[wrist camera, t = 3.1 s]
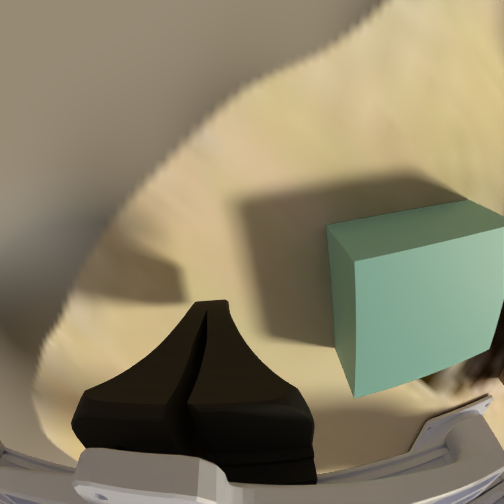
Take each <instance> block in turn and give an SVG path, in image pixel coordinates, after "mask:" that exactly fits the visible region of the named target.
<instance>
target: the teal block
mask: <svg viewBox="0 0 504 504" xmlns="http://www.w3.org/2000/svg"><path fill="white" fill-rule="evenodd" d="M326 234H327V244H328V254H329V265H330V277H331V289H332V304H333V320H334V339H335V350H336V352H337V355H338V357H339V360H340V362H341V365H342V368H343V370H344V373H345V376H346V378H347V381H348V383H349V386H350V389H351V391H352V394H353V397H354V399H355V398H358V397H362V396H366V395H369V394H373V393H376V392H379V391H383V390H386V389H389V388H392V387H395V386H398V385H402V384H404V383H407V382H410V381H413V380H416V379H419V378H422V377H424V376H427V375H430V374H432V373H435V372H438V371H440V370H443V369H445V368H448V367H450V366H453V365H455V364H457V363H460V362H462V361H464V360H467V359H469V358H471V357H474V356H476V355H478V354H480V353H482V352H484V351H486V350H489V349H490V346H491V342H492V339H493V336H494V333H495V330H496V326H497V323H498V319H499V316H500V312H501V308H502V304H503V300H504V216H502V215H500V214H498V213H496V212H494V211H492V210H490V209H487V208H485V207H483V206H481V205H479V204H477V203H475V202H473V201H471V200H462V201H456V202H451V203H445V204H439V205H433V206H428V207H422V208H416V209H411V210H405V211H400V212H394V213H389V214H383V215H378V216H372V217H367V218H361V219H356V220H350V221H345V222H340V223H334V224H329V225H326Z"/></svg>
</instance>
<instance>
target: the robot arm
mask: <svg viewBox="0 0 504 504" xmlns="http://www.w3.org/2000/svg"><path fill="white" fill-rule="evenodd" d="M492 400H493V397H492V395H489V396H487V397H485V398H483V399H480V400H478V401H476V402H473V403H471V404H469V405H466V406H464V407H461V408H459V409H456V410H454V411H451V412H449V413H446V414H443V415H441V416H438V417H435V418H432V419H430V420H428V421H427V422H426V423H425V425H424V426H423V428H422V430H421V432H420V434H419V436H418V437H417V439H416V441H415V443H414V444H413V446H412V448H411V449H410V451H409V452H408V453H405V454H402V455H399V456H395V457H392V458H389V459H385V460H381V461H378V462H374V463H370V464H366V465H362V466H358V467H354V468H349V469H345V470H340V471H335V472H330V473H324V474H318V475H317V473H316V469H315V464H314V459H313V458H314V451H313V446H312V441H313V434H314V420H313V417H312V414H311V412H310V409H309V407H308V405H307V403H306V402H305V400H304V398H303V396H302V395H301V393H300V392H299V390H298V388H296V387H294V386H293V385H291V384H289V383H288V382H286V381H285V380H283V379H282V378H280V377H279V376H278V375H276V374H275V373H274V372H273V371H272V370H270V369H269V368H268V367H267V366H266V365H265V364H264V363H263V362H262V361H261V360H260V359H259V358H258V357H257V356H256V355H255V354H254V353H253V351H252V350H251V349H250V348H249V346H248V345H247V344H246V342H245V341H244V339H243V338H242V336H241V335H240V333H239V331H238V329H237V327H236V325H235V323H234V321H233V319H232V317H231V314H230V310H229V303H228V301H227V300H213V301H198V302H195V303H194V304H193V305H192V306H191V308H190V309H189V310H188V312H187V313H186V315H185V316H184V317H183V318H182V320H181V321H180V322H179V323H178V325H177V326H176V327H175V328H174V330H173V331H172V332H171V333H170V334H169V335H168V336H167V337H166V339H165V340H164V341H163V342H162V343H161V344H160V345H159V346H158V347H157V348H156V349H154V350H153V351H152V352H151V353H150V354H149V355H147V356H146V357H145V358H143V359H142V360H141V361H139V362H138V363H136V364H135V365H134V366H132V367H131V368H129V369H128V370H126V371H125V372H123V373H121V374H120V375H118V376H116V377H114V378H112V379H110V380H108V381H106V382H104V383H102V384H100V385H97V386H95V387H93V388H90V389H88V390H85V391H84V393H83V395H82V397H81V399H80V402H79V404H78V406H77V409H76V411H75V414H74V416H73V419H72V422H71V426H72V429H73V431H74V433H75V435H76V436H77V438H78V439H79V440H80V442H81V443H82V444H83V445H84V447H85V448H86V449H85V450H84V451H83V452H82V453H81V455H80V458H79V461H78V464H77V467H76V468H72V467H67V466H63V465H60V464H56V463H52V462H48V461H45V460H42V459H38V458H35V457H32V456H29V455H26V454H23V453H20V452H17V451H14V450H11V449H9V448H6V447H5V446H4V444H3V443H2V442H1V441H0V504H504V450H503V449H502V447H501V445H500V443H499V442H498V440H497V438H496V437H495V435H494V433H493V432H492V430H491V428H490V427H489V425H488V424H487V422H486V420H485V419H484V417H483V414H484V413H485V411H486V410H487V408H488V406H489V405H490V403H491V401H492Z"/></svg>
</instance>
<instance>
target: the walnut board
mask: <svg viewBox="0 0 504 504" xmlns="http://www.w3.org/2000/svg"><path fill="white" fill-rule="evenodd" d="M499 380H500V381H501V382H502V383H503V385H504V368H503V370H502V372H501V374H500V376H499Z"/></svg>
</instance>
